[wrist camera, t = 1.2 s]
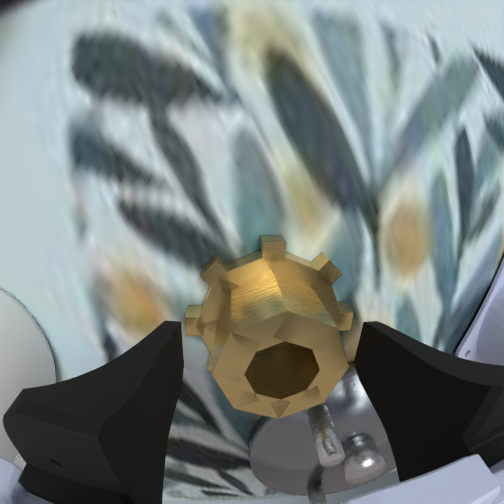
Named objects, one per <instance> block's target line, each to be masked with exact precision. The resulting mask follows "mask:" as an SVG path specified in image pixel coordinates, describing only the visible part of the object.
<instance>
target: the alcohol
mask: <svg viewBox="0 0 504 504" xmlns="http://www.w3.org/2000/svg"><path fill="white" fill-rule="evenodd" d="M54 383H56V375H55V365H54V359H53V355H52V352H51V349H50V346H49V344H48V341H47V339H46V337H45V335H44V333H43V332H42V330H41V328H40V327H39V325H38V323H37V322H36V321H35V319H34V318H33V317H32V315H31V314H30V313H29V312H28V310H27V309H26V308H25V307H24V306H23V305H22V304H21V303H20V302H19V301H18V300H17V299H15V298H14V297H13V296H12V295H10V294H9V293H7V292H6V291H4V290H1V289H0V457H2V458H4V459H6V460H7V461H9V462H13V460H14V458H15V457H16V455H17V453H18V451H17V449H16V448H15V446H14V445H13V443H12V442H11V440H10V439H9V437H8V435H7V433H6V431H5V429H4V425H3V421H2V420H3V415H4V414H5V413H6V411H7V410H8V408H9V407H10V406H11V404H12V403H13V401H14V400H15V399H16V397H17V396H18V395H19V393H20V392H21V391H22V390H23V389H26V388H33V387H39V386H45V385H50V384H54Z"/></svg>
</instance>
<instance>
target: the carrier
mask: <svg viewBox="0 0 504 504" xmlns="http://www.w3.org/2000/svg"><path fill="white" fill-rule="evenodd" d="M348 365H349V367H348V369H347V370H346V372H345V373H344V375H343V376H342V378H341V379H340V381H339V382H338V384H337V385H336V386H335V388H334V389H333V391H332V392H331V393H330V395H329V396H328V398H327V399H326V400H325V402H324V403H321V404H319V405H316V406H314V407H311V408H308V409H305V410H303V411H300V412H297V413H294V414H291V415H288V416H285V417H282V418H279V419H278V418H273V417H268V416H263V415H262V416H261V417H260V419H259V420H258V421H257V423H256V425H255V427H254V428H253V430H252V433H251V436H250V440H249V457H250V466H251V469H252V472H253V474H254V475H255V476H256V478H257V479H258V480H259V481H260V482H262V483H263V484H264V485H266V486H268V487H269V488H272V489H274V490H276V491H280V492H283V493H287V494H293V495H308V498H309V502H310V504H327V502H326V498H325V494H331V493H337V492H341V491H345V490H348V489H352V488H355V487H358V486H361V485H364V484H366V483H368V482H371V481H373V480H375V479H377V478H379V477H381V476H383V475H385V474H387V473H388V472H390V471H392V470H393V469H395V468H396V463H395V459H394V456H393V453H392V449H391V446H390V443H389V440H388V437H387V435H386V432H385V429H384V427H383V425H382V422H381V420H380V418H379V416H378V415H377V413H376V411H375V409H374V407H373V405H372V403H371V401H370V400H369V398H368V396H367V394H366V392H365V390H364V388H363V386H362V384H361V382H360V380H359V377H358V375H357V372H356V369H355V366H354V361H351V362H348Z"/></svg>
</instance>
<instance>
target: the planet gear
mask: <svg viewBox="0 0 504 504" xmlns="http://www.w3.org/2000/svg"><path fill="white" fill-rule="evenodd" d="M341 275H342V273H341V272H340V271H339V270H338V269H337V268H336V266H335V265H334V264H333V263H332V262H331V261H330V260H329V259H328V258H327V257H326V256H325V255H324V254H323V253H322V252H321V253H320V254H319V255H318V256H317V257H316V258H315V259H314V260H313V261H312V262H310V261H308V260H305V259H303V258H300V257H298V256H296V255H293V254H291V253H288V252H286V241H285V240H284V238H283V237H282V235H260V250H258V251H256V252H253V253H251V254H248V255H246V256H243V257H241V258H238V259H236V260H233V261H231V262H229V263H227V262H226V261H225V260H224V259H223V258H222V257H221V256H220V255H219V254H218V253H216V254H215V255H214V256H213V257H212V258H211V259H210V260H209V261H208V262H207V263H206V264H205V265H204V266H203V268H202V272H201V275H200V277H201V278H202V279H203V280H204V281H206V282H207V283H208V284H209V285H210V287H209V289H208V292H207V294H206V297H205V299H204V302H203V304H202V305H188V308H187V311H186V314H185V326H186V335H194V336H201V337H202V338H203V340H204V342H205V344H206V345H207V347H208V349H209V351H210V353H209V354H208V360H207V369H208V370H209V371H210V372H212V376H213V377H214V379H215V381H216V382H217V384H218V385H219V387H220V388H221V390H222V391H223V393H224V395H225V396H226V398H227V399H228V401H229V402H230V404H231V405H232V407H233V408H234V409H238V410H242V411H246V412H250V413H254V414H259V415H263V416H268V417H273V418H278V419H279V418H282V417H285V416H288V415H291V414H294V413H297V412H300V411H303V410H305V409H308V408H311V407H314V406H316V405H319V404H321V403H324V402H325V400H326V399H327V398H328V396H329V395H330V393H331V392H332V391H333V389H334V388H335V386H336V385H337V384H338V382H339V381H340V379H341V378H342V376H343V375H344V373H345V372H346V370H347V369H348V367H349V365H348V361H347V358H346V355H345V351H344V348H343V344H342V341H341V338H340V334H339V331H342V330H351V324H352V318H353V311H352V310H351V309H350V307H349V306H348V305H347V304H346V302H337V301H336V297H335V294H334V291H333V288H332V284H333V283H334V282H335V281H336V280H337V279H338V278H339V277H340V276H341Z"/></svg>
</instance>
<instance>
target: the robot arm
mask: <svg viewBox="0 0 504 504" xmlns="http://www.w3.org/2000/svg"><path fill="white" fill-rule="evenodd" d="M455 354H456V356H457V357H456V356H453V355H450V354H447V353H445V352H442V351H439V350H437V349H435V348H432V347H430V346H428V345H425V344H423V343H421V342H419V341H417V340H415V339H413V338H411V337H409V336H407V335H405V334H403V333H401V332H399V331H397V330H395V329H393V328H391V327H389V326H387V325H385V324H382V323H380V322H377V321H375V322H364V323H363V328H362V332H361V336H360V340H359V344H358V348H357V352H356V356H355V360H354V366H355V369H356V372H357V375H358V377H359V380H360V382H361V384H362V386H363V388H364V390H365V392H366V394H367V396H368V398H369V400H370V401H371V403H372V405H373V407H374V409H375V411H376V413H377V415H378V416H379V418H380V420H381V422H382V425H383V427H384V429H385V432H386V435H387V437H388V440H389V443H390V446H391V449H392V453H393V456H394V459H395V463H396V467H397V471H398V476H399V480H400V483H397V484H394V485H390V486H387V487H383V488H380V489H376V490H373V491H370V492H367V493H364V494H361V495H358V496H355V497H352V498H349V499H347V500H345V501H343V502H341V503H339V504H504V258H503V260H502V263H501V265H500V268H499V270H498V272H497V274H496V277H495V279H494V281H493V283H492V285H491V288H490V290H489V292H488V294H487V296H486V298H485V300H484V302H483V304H482V306H481V308H480V310H479V311H478V313H477V315H476V317H475V319H474V321H473V323H472V324H471V326H470V328H469V330H468V331H467V333H466V335H465V336H464V338H463V340H462V341H461V343H460V345H459V346H458V348H457V350H456V353H455ZM183 368H184V360H183V347H182V332H181V322H176V321H164V322H163V323H162V324H161V325H159V326H158V327H157V328H156V329H155V330H154V331H152V332H151V333H150V334H149V335H148V336H146V337H145V338H144V339H143V340H141V341H140V342H139V343H138V344H136V345H135V346H133V347H132V348H131V349H129V350H128V351H126V352H125V353H124V354H122V355H121V356H119V357H117V358H116V359H114V360H112V361H111V362H109V363H107V364H105V365H103V366H101V367H99V368H97V369H95V370H92V371H90V372H88V373H85V374H83V375H80V376H78V377H75V378H72V379H69V380H65V381H62V382H58V383H54V384H50V385H45V386H39V387H33V388H26V389H23V390H22V391H21V392H20V393H19V395H18V396H17V397H16V399H15V400H14V401H13V403H12V404H11V406H10V407H9V408H8V410H7V411H6V413H5V414H4V415H3V420H2V421H3V425H4V429H5V431H6V433H7V435H8V437H9V439H10V440H11V442H12V443H13V445H14V446H15V448H16V449H17V451H18V452H19V453H20V455H21V456H22V458H23V459H24V460H25V462H26V463H27V464H26V466H25V468H24V470H22V469H20V468H19V467H18V466H16V465H15V464H13V463H12V462H9V461H7V460H6V459H4V458H2V457H0V504H162V494H163V479H164V467H165V457H166V449H167V441H168V435H169V430H170V426H171V423H172V419H173V415H174V411H175V408H176V404H177V400H178V396H179V393H180V389H181V384H182V377H183Z"/></svg>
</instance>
